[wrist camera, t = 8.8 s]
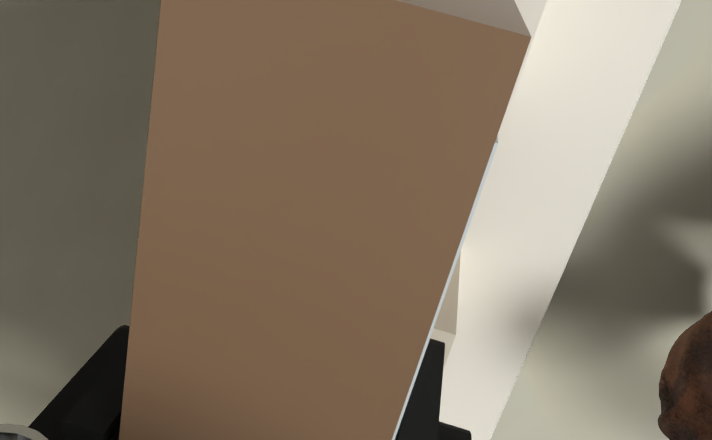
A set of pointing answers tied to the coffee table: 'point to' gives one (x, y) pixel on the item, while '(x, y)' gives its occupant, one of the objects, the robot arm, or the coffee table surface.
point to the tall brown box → (306, 208)
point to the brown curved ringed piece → (688, 385)
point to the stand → (540, 190)
